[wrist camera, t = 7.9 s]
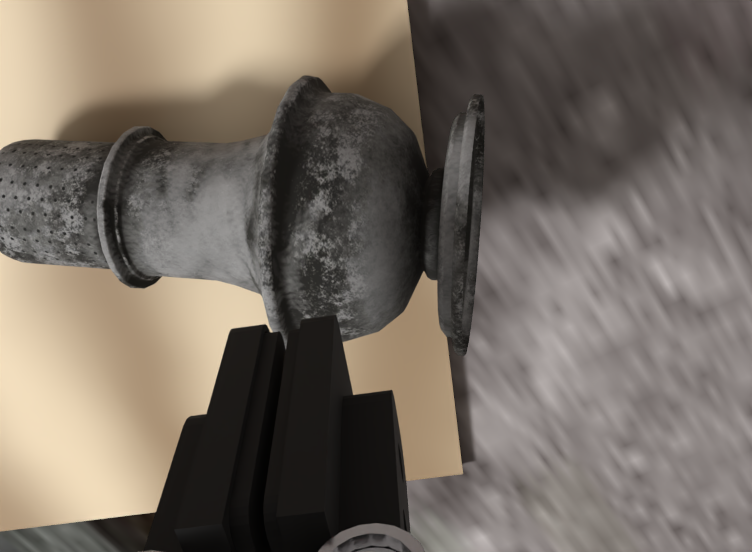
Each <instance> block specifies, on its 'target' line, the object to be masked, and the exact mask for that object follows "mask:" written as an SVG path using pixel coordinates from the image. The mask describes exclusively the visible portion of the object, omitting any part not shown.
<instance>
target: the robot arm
mask: <svg viewBox="0 0 752 552" xmlns="http://www.w3.org/2000/svg"><path fill="white" fill-rule="evenodd" d="M141 552H425V550H424V548H423V546H422V544H421V543H420V542H419V541H418V540H417V539H416V538H414V537H413V536H412V535H411V534H410V523H409V511H408V499H407V486H406V475H405V466H404V457H403V449H402V442H401V435H400V428H399V422H398V416H397V410H396V404H395V399H394V394H393V391H392V390H387V391H379V392H372V393H364V394H356V395H353V391H352V386H351V381H350V376H349V371H348V366H347V361H346V357H345V352H344V347H343V342H342V337H341V332H340V327H339V323H338V319H337V316H336V315H329V316H321V317H314V318H307V319H302V320H301V323H300V329H293V330H289V333H288V340H287V346H286V348H285V344H284V340H283V336H282V334H281V332H280V331H278V332H270V330H269V328H268V326H267V325H266V324H262V325H255V326H248V327H240V328H233V329H231V330H230V332H229V335H228V338H227V342H226V346H225V349H224V353H223V356H222V360H221V364H220V367H219V371H218V374H217V378H216V381H215V385H214V389H213V392H212V396H211V399H210V403H209V406H208V410H207V414H202V415H195V416H190V417H188V418H187V419H186V421H185V423H184V425H183V428H182V431H181V434H180V437H179V441H178V444H177V447H176V450H175V453H174V456H173V460H172V463H171V466H170V469H169V472H168V475H167V479H166V482H165V485H164V488H163V491H162V494H161V498H160V501H159V504H158V507H157V510H156V514H155V517H154V520H153V523H152V526H151V529H150V533H149V536H148V539H147V542H146V545H145V548H144V551H141Z"/></svg>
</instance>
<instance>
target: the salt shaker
mask: <svg viewBox="0 0 752 552" xmlns="http://www.w3.org/2000/svg"><path fill="white" fill-rule="evenodd" d="M484 124H485V121H484V99H483V95H474V96H473V97H472V98H471V99H470V101H469V104H468V107H467V113H460V114H459V115H458V116H457V117H456V118H454V121H453V124H452V126H451V131H450V136H449V140H448V147H447V154H446V161H445V168H444V169H442V168H439V169H437V170H435V171H434V172H433V173H432V175H431V176H429V174H428V171H427V168H426V165H425V162H424V159H423V155H422V152H421V149H420V146H419V143H418V140H417V137H416V135H415V134H414V132H413V131H412V130H411V129H410V128H409V127H408V126H407V125H406V124H405V123H404V122H403V121H402V119H401V118H400V117H399V116H398V115H397V114H396V113H395V112H394V111H393V110H392V109H390V108H388V107H386V106H384V105H381V104H379V103H377V102H375V101H372V100H370V99H368V98H365V97H363V96H361V95H359V94H354V93H331V91H330V89H329V88H328V87H327V86H326V84H325V83H324V82H323V81H322V80H321V79H320V78H319V77H314V76H309V75H304V76H302V77H301V78H300V79H298V80H297V81H296V82H294V83H293V84H292V85H291V86H290V87H289V88H288V90H287V91H286V93H285V95H284V97H283V99H282V100H281V102H280V104H279V106H278V108H277V111H276V114H275V117H274V121H273V124H272V127H271V130H270V132H269V133H268V134H267V135H263V136H259V137H255V138H251V139H247V140H243V141H237V142H231V143H209V142H183V141H167V140H166V139H165V138H164V137H163V135H162V134H161V133H160V132H159V131H157V130H155V129H153V128H151V127H149V126H134V127H132V128H131V129H129V130H127V131H126V132H124V133H123V134H122V135H121V136H120V138H119V139H118V140H117V141H116V142H93V141H67V140H42V139H31V140H21V141H17V142H13V143H11V144H9V145H7V146H5V147H3V148H2V149H1V150H0V252H1V253H2V254H4V255H6V256H8V257H9V258H11V259H14V260H17V261H20V262H23V263H34V264H47V265H61V266H74V267H87V268H101V269H111V270H112V272H113V273H114V274H115V276H116V277H117V278H118V279H119V281H120V282H122V283H123V284H125V285H127V286H128V287H130V288H142V289H145V288H147V287H149V286H151V285H153V284H155V283H156V282H157V281H158V280H159V279H160V278H161V277H162V276H163V277H176V278H190V279H203V280H216V281H220V282H224V283H228V284H232V285H236V286H239V287H242V288H244V289H247V290H250V291H253V292H256V293H258V294H260V295H261V296H262V298H263V302H264V306H265V310H266V314H267V318H268V322H269V326H270V328H271V330H272V332H278V331H280V332H281V334H282V336H283V340H284V344H285V348H286V346H287V340H288V333H289V330H293V329H300V323H301V320H302V319H307V318H314V317H321V316H329V315H336V316H337V319H338V323H339V327H340V332H341V337H342V342H346V341H349V340H352V339H356V338H359V337H362V336H366V335H369V334H372V333H376V332H379V331H380V330H382V329H383V328H384V327H385V326H387V325H388V324H389V323H390V322H392V321H393V320H394V319H395V318H397V317H398V316H399V315H400V314H402V313H403V312H404V310H405V309H406V307H407V305H408V303H409V301H410V299H411V297H412V295H413V292H414V290H415V288H416V286H417V284H418V282H419V280H420V278H421V275H422V273H423V271H424V272H425V274H426V276H427V278H429V279H430V280H437V297H438V317H439V325H440V328H441V331H442V332H443V333H444V334H445V335H446V337H452V344H453V348H454V351H455V352H456V354H457V355H462V356H464V355H465V354H466V352H467V347H468V343H469V336H470V329H471V322H472V313H473V305H474V295H475V285H476V274H477V262H478V250H479V236H480V222H481V205H482V187H483V166H484Z"/></svg>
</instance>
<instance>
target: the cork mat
mask: <svg viewBox="0 0 752 552" xmlns="http://www.w3.org/2000/svg"><path fill="white" fill-rule="evenodd" d="M304 75H309V76H314V77H319V78H320V79H321V80H322V81H323V82H324V83H325V84H326V86H327V87H328V88H329V89H330V91H331V93H354V94H359V95H361V96H363V97H365V98H368V99H370V100H372V101H375V102H377V103H379V104H381V105H384V106H386V107H388V108H390V109H392V110H393V111H394V112H395V113H396V114H397V115H398V116H399V117H400V118H401V119H402V121H403V122H404V123H405V124H406V125H407V126H408V127H409V128H410V129H411V130H412V131H413V132H414V134H415V135H416V137H417V140H418V143H419V146H420V149H421V152H422V155H423V159H424V162H425V165H426V157H425V149H424V140H423V132H422V123H421V115H420V107H419V98H418V90H417V81H416V73H415V64H414V56H413V47H412V39H411V31H410V22H409V14H408V5H407V0H0V150H1V149H2V148H3V147H5V146H7V145H9V144H11V143H13V142H17V141H21V140H31V139H42V140H67V141H93V142H116V141H117V140H118V139H119V138H120V136H121V135H122V134H123V133H124V132H126V131H127V130H129V129H131V128H132V127H134V126H149V127H151V128H153V129H155V130H157V131H159V132H160V133H161V134H162V135H163V137H164V138H165V139H166V140H167V141H183V142H209V143H231V142H237V141H243V140H247V139H251V138H255V137H259V136H263V135H267V134H268V133H269V132H270V130H271V127H272V124H273V121H274V117H275V114H276V111H277V108H278V106H279V104H280V102H281V100H282V99H283V97H284V95H285V93H286V91H287V90H288V88H289V87H290V86H291V85H292V84H293V83H294V82H296V81H297V80H298V79H300V78H301V77H302V76H304ZM426 168H427V166H426ZM262 324H266V325H267V326H268V328H269V330H270V332H272V330H271V328H270V326H269V322H268V318H267V314H266V310H265V306H264V302H263V298H262V296H261V295H260V294H258V293H256V292H253V291H250V290H247V289H244V288H242V287H239V286H236V285H232V284H228V283H224V282H220V281H216V280H203V279H190V278H176V277H163V276H162V277H161V278H160V279H159V280H158V281H157V282H156V283H155V284H153V285H151V286H149V287H147V288H145V289H142V288H130V287H128V286H127V285H125V284H123V283H122V282H120V281H119V279H118V278H117V277H116V276H115V274H114V273H113V272H112V270H111V269H101V268H87V267H74V266H61V265H47V264H34V263H23V262H20V261H17V260H14V259H11V258H9V257H8V256H6V255H4V254H2V253H1V252H0V531H7V530H15V529H23V528H31V527H39V526H47V525H55V524H64V523H72V522H80V521H88V520H96V519H104V518H112V517H120V516H128V515H136V514H144V513H152V512H156V510H157V507H158V504H159V501H160V498H161V494H162V491H163V488H164V485H165V482H166V479H167V475H168V472H169V469H170V466H171V463H172V460H173V456H174V453H175V450H176V447H177V444H178V441H179V437H180V434H181V431H182V428H183V425H184V423H185V421H186V419H187V418H188V417H190V416H195V415H202V414H207V410H208V406H209V403H210V399H211V396H212V392H213V389H214V385H215V381H216V378H217V374H218V371H219V367H220V364H221V360H222V356H223V353H224V349H225V346H226V342H227V338H228V335H229V332H230V330H231V329H233V328H240V327H248V326H255V325H262ZM343 347H344V352H345V357H346V361H347V366H348V371H349V376H350V381H351V386H352V391H353V395H356V394H364V393H372V392H379V391H387V390H392V391H393V394H394V399H395V404H396V410H397V416H398V422H399V428H400V435H401V442H402V449H403V457H404V466H405V475H406V481H410V480H418V479H426V478H434V477H442V476H450V475H458V474H463V470H462V461H461V453H460V444H459V436H458V428H457V419H456V411H455V402H454V394H453V385H452V377H451V368H450V360H449V352H448V343H447V337H446V335H445V334H444V333H443V332H442V331H441V328H440V325H439V317H438V297H437V280H430V279H429V278H427V276H426V274H425V272H424V271H423V273H422V275H421V278H420V280H419V282H418V284H417V286H416V288H415V290H414V292H413V295H412V297H411V299H410V301H409V303H408V305H407V307H406V309H405V310H404V312H403V313H402V314H400V315H399V316H398V317H397V318H395V319H394V320H393V321H392V322H390V323H389V324H388V325H387V326H385V327H384V328H383V329H382V330H380V331H379V332H376V333H372V334H369V335H366V336H362V337H359V338H356V339H352V340H349V341H346V342H343Z"/></svg>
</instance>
